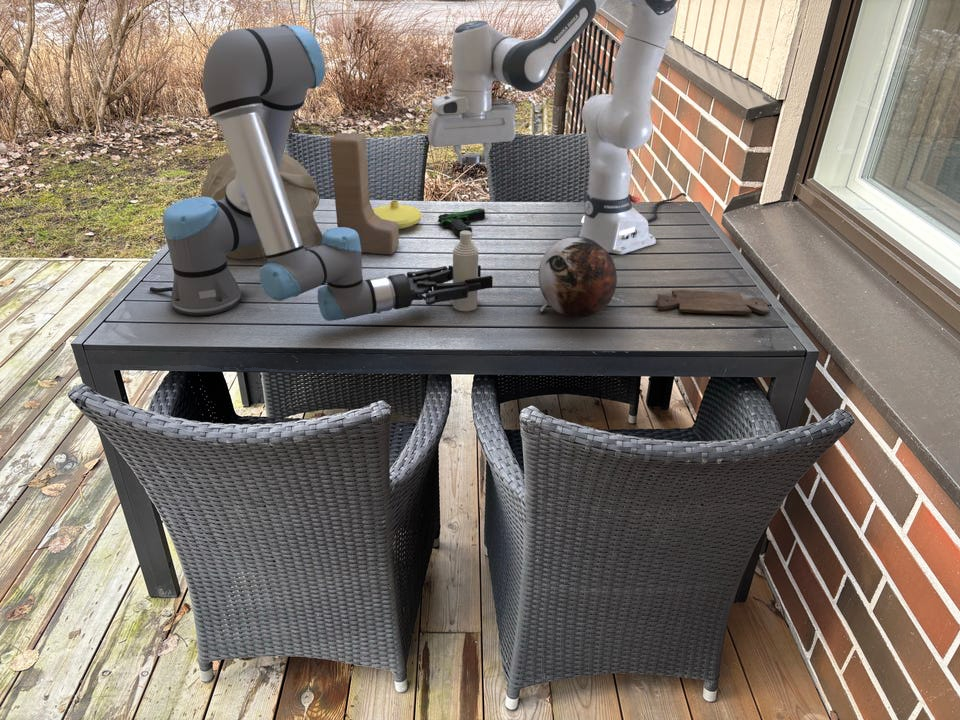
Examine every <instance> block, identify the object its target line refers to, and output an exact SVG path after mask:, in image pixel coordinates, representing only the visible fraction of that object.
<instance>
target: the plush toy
mask: <svg viewBox="0 0 960 720" xmlns="http://www.w3.org/2000/svg"><path fill="white" fill-rule="evenodd" d="M538 266H539V267H538V274H537V275H538V277H537V278H538V285H539V289H540V292H541V294H542V296H543V298H544V299H545V301H546V302H547V303H545V304H543V305H542V306H541V307H540V312H541V313H542V312H543V311H544V310H545V309H546V308H547V307H548V305H549V306H550V307H551V308H552V309H553V310H554V311H556V312H557V313H559V314H561V315H563V316H566V317H568V318H572V319H585V318H590V317H593V316H595V315H597V314H598V313H601V312H602V311H603V310H604V309H606V307H607V306H608V305H609V304H610V302H611V301H612V299H613V298H614V295H615V292H616V289H617V283H618V275H617V268H616V265H615V262H614V260H613V258H612V256H611V254H610V252H607V251H606V250H605V249H604V248H603V247H602V246H601V245H600V244H598V243H597V242H595V241H594V240H591V239H588V238H585V237H579V236H568V237H564V238H562V239H559V240H558V241H556V242H554V244H552V245H551V246H549V248H548V249H547V250H546V252H544V254H543V256H542V257H541V260H540V263H539V265H538Z"/></svg>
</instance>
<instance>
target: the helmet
mask: <svg viewBox="0 0 960 720" xmlns="http://www.w3.org/2000/svg"><path fill="white" fill-rule="evenodd" d="M217 136H219V137H222V138H224V136H223V133H217ZM279 173H280V176H281V179H282V182H283V185H284V188H285V191H286V194H287V197H288V200H289V203H290V206H291V209H292V212H293V215H294V218H295V221H296V225H297V228H298V231H299V234H300V237H301V240H302V243H303V246H304V248H314V247H318V246H321V245H322V235H323V233H322V231H321V230H320V228H319V225H318V223H317V221H316V219H315V216H314V212H315V211H316V209H317V208H318V206H319V203H320V199H321V198H320V195H319V194H318V189H317V185H316V182H315V180H314V178H313V176H312V175H310V174H309V172H308V171H307V169H306V168H305V167H304V166H303V165H302V164H301V163H300V162H299V161H297V160H296V159H295V158H294V157H292V156H290V155H288V154H286V153H284V154H283V158H282V162H281V166H280V171H279ZM236 174H237V173H236V170H235V167H234V165H233V162H232V159H231V156H230V153H229V152H226V153H224V154H223V155H221V156H219V157H218V158H217V159H216V160H215V161H213V163H212V164H210V166H209V168H208V170H207V173H206V176H205V178H204V179H203V181H202V186H201V192H200V197H210V198H212V199H214V200H215V201H218V200H221V199H224V198H225V193H226V188H227V185H228V184H229V183H230V182H231V181H232V180H234V179H236ZM226 256H228V257H229V258H231V259H236V260H237V259H239V260H244V259H256V258H257V259H258V258H266V256H265V253H264V250H263V247H262V244H261V243H257V244H254V245H251V246H248V247H244V248H241V249H238V250H234V251H231V252H228V253H226Z"/></svg>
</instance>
